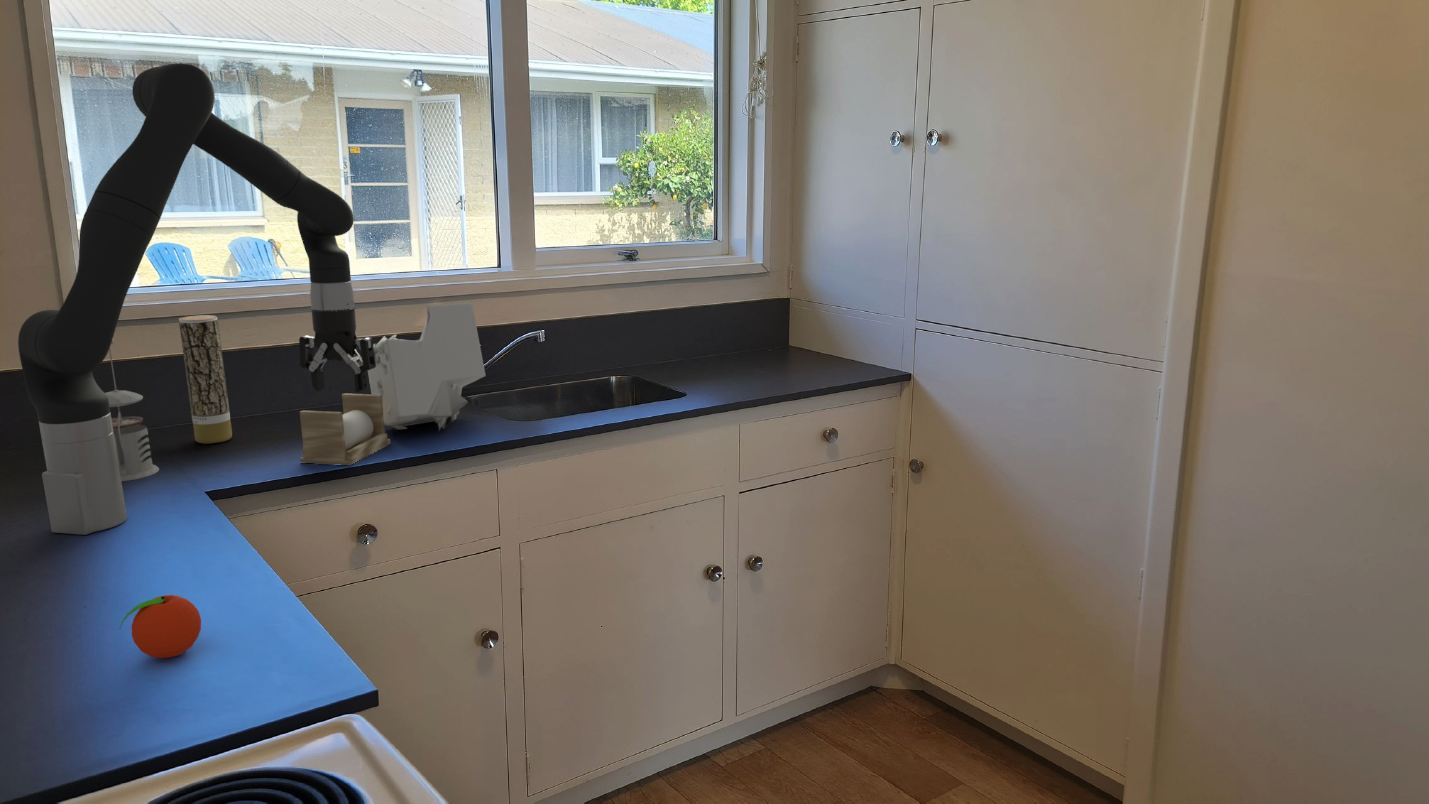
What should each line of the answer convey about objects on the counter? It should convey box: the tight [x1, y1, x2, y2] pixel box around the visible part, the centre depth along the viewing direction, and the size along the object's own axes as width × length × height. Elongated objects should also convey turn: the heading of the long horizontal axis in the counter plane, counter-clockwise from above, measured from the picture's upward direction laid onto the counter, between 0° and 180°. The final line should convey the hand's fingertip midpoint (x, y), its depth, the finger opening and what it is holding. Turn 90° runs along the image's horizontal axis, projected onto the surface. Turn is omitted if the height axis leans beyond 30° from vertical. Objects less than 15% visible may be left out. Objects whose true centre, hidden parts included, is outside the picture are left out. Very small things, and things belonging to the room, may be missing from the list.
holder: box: [299, 392, 392, 465], centre depth 188 cm, size 15×10×10 cm, turn 169°
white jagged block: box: [367, 301, 487, 431], centre depth 205 cm, size 20×16×25 cm
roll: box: [342, 410, 373, 450], centre depth 189 cm, size 11×6×6 cm, turn 169°
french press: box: [104, 338, 160, 482], centre depth 175 cm, size 10×12×25 cm
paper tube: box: [178, 314, 233, 445], centre depth 196 cm, size 7×7×25 cm
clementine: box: [118, 594, 202, 659], centre depth 111 cm, size 8×7×7 cm
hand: (340, 391), depth 186 cm, fingers open, 8 cm apart
